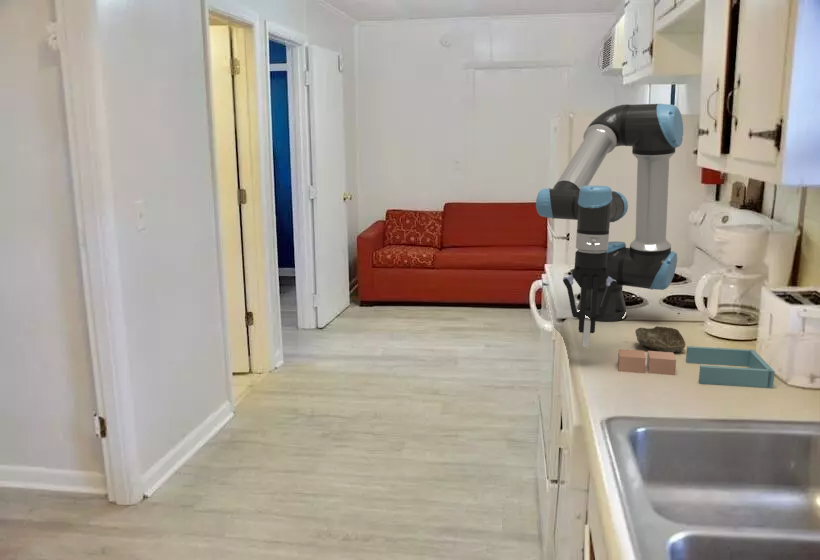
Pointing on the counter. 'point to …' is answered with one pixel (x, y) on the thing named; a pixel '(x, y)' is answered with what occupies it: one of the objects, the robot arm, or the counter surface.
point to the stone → (661, 339)
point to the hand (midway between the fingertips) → (585, 345)
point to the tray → (750, 377)
